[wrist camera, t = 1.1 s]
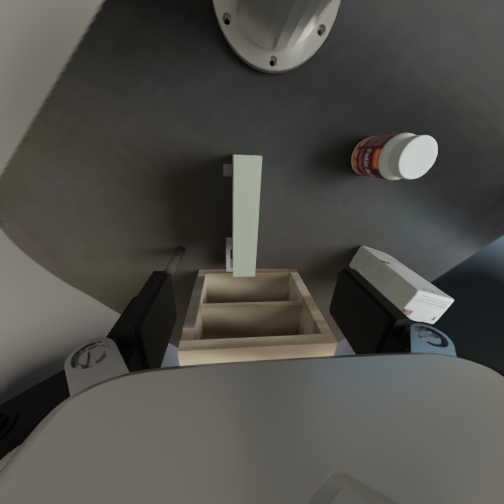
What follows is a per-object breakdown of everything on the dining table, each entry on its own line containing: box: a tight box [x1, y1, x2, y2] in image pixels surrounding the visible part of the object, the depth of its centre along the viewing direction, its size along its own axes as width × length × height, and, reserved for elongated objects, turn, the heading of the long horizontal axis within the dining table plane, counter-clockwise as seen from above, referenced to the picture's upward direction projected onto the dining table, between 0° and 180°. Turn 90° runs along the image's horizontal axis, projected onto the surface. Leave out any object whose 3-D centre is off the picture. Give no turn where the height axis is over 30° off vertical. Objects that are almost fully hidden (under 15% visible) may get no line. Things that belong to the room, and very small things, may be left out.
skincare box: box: [349, 246, 454, 324], centre depth 30 cm, size 6×4×12 cm
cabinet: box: [165, 247, 338, 366], centre depth 28 cm, size 16×19×15 cm
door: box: [223, 154, 262, 277], centre depth 25 cm, size 16×4×10 cm, turn 177°
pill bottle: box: [351, 133, 438, 180], centre depth 24 cm, size 5×5×8 cm
